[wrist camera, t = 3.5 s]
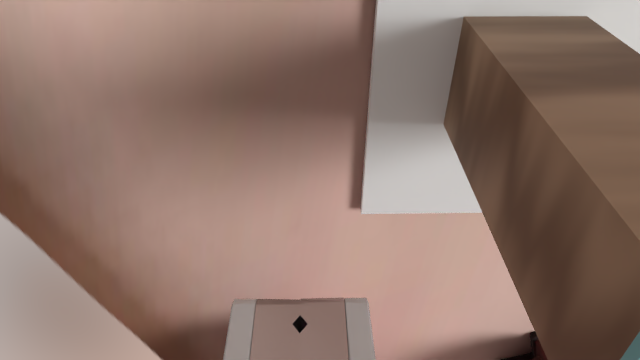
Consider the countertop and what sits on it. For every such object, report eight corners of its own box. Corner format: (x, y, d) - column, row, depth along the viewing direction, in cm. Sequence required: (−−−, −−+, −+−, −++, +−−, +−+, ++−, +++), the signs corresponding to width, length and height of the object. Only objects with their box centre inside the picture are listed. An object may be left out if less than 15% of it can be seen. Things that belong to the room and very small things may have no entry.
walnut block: (463, 16, 19) (683, 296, 8) (586, 15, 19) (975, 293, 8) (443, 124, 22) (582, 436, 11) (549, 123, 22) (793, 432, 11)
